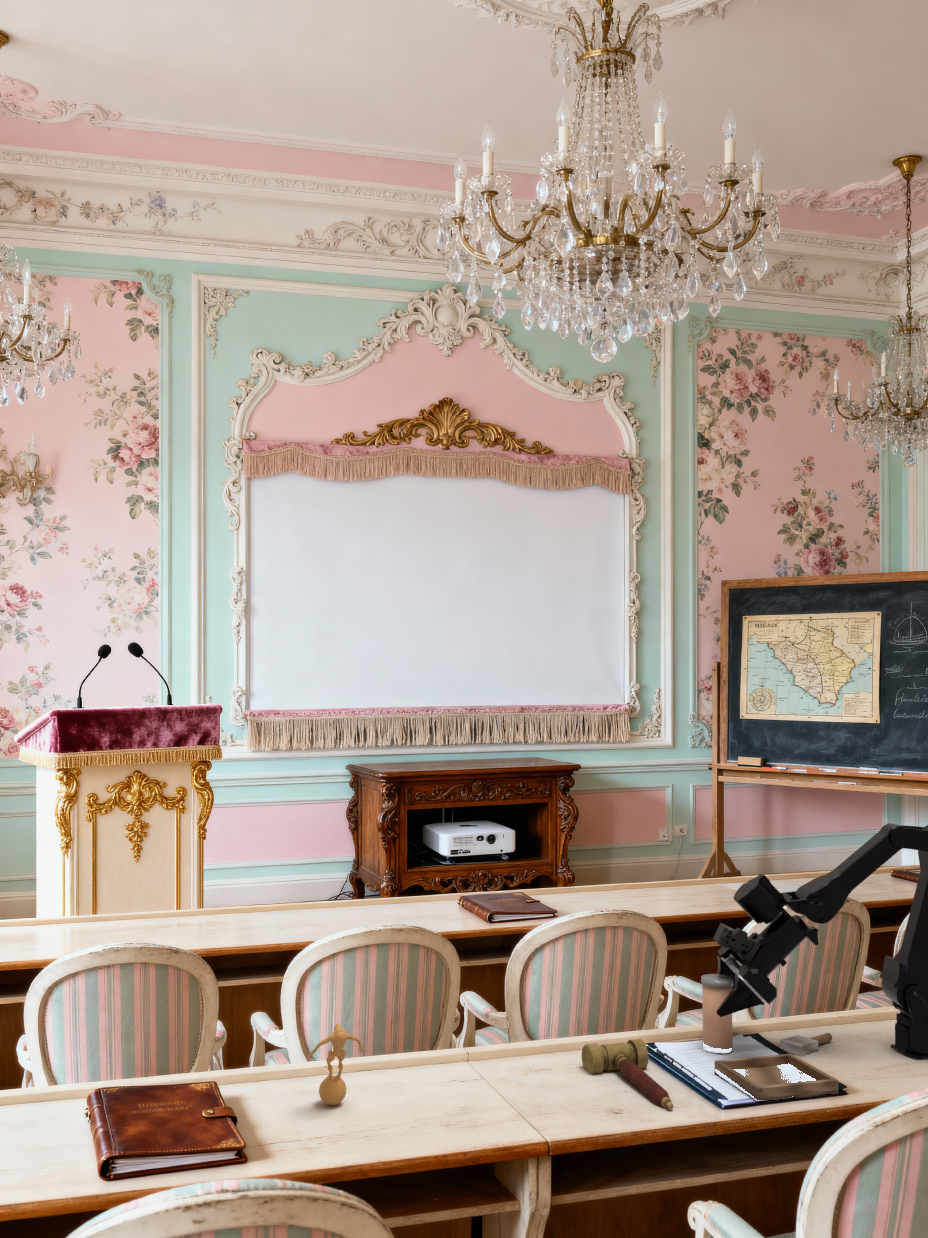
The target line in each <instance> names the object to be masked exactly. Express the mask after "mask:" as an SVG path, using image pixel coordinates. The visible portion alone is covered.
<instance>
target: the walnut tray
mask: <svg viewBox="0 0 928 1238" xmlns="http://www.w3.org/2000/svg"><path fill="white" fill-rule="evenodd" d="M788 1063H789V1064H791V1065H793V1066H794V1067H796V1068H797V1069H798V1070H800V1071H802V1072H803V1073H805V1074H807V1075H809V1076H811V1077H812V1078H815V1079H816V1081H806V1082H801V1081H799V1082H797V1083H791V1081H790V1083H789V1081H788V1080H789V1079H788V1080H787V1079H786V1080H785V1079H784V1080H783V1079H781V1076H782V1075H781V1074H782V1072H781V1071H780V1070H781V1069H779V1068H778V1067H777V1065H781V1064H788ZM715 1069H717V1070H719V1071H720V1072H721V1073H723V1074H724V1075H726V1076H727V1077H728V1078H730V1079H731V1080H732V1081H734V1082H735V1083H737V1084H738V1085H739V1086H740V1087H742V1088H743V1089H745V1091H747V1092H748V1093H750V1094H751V1095H752V1096H754V1098H756V1099H757V1100H764V1101H765V1100H774V1099H775V1100H776V1099H783V1098H784V1099H785V1098H789V1097H792V1096H793V1097H794V1098H795V1097H797V1098H795V1099H802V1098H803V1099H806V1098H811V1097H813V1096H814V1097H821V1096H822V1095H821V1094H832V1095H839V1080H838V1079H837V1078H835V1077H833V1076H831V1075H829V1074H828V1073H827V1072H824V1071H822V1070H821V1069H819V1068H817V1067H815V1066H813V1065H812V1064H810V1063H808V1062H806V1061H805V1060H802V1059H800V1058H799V1057H797V1056H795V1055H793V1053H785V1054H784V1053H783V1054H774V1055H773V1054H771V1055H761V1056H751V1057H742V1058H741V1057H740V1058H729V1059H720V1060H714V1070H715ZM733 1069H745V1070H746V1071H747V1070H748V1071H747V1072H746V1071H745V1072H746V1073H747V1074H749V1075H747V1074H746V1073H745V1074H746V1076H745V1077H744V1076H743V1075H741V1074H740V1073H738V1072H736V1071H735V1070H733ZM780 1072H781V1073H780ZM802 1072H801V1073H802ZM799 1073H800V1072H799ZM801 1073H800V1074H801ZM803 1073H802V1074H803ZM785 1076H786V1075H785ZM782 1078H783V1076H782ZM784 1078H785V1077H784ZM800 1078H801V1077H800ZM787 1081H788V1083H787ZM818 1095H819V1096H818ZM820 1095H821V1096H820ZM822 1097H823V1096H822Z"/></svg>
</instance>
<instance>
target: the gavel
mask: <svg viewBox="0 0 928 1238" xmlns="http://www.w3.org/2000/svg"><path fill="white" fill-rule="evenodd" d="M581 1062H582V1066H583V1069H584V1071H586V1073H588V1074H591V1075H595V1074H602V1073H603V1071H605V1072H610V1071H620V1072H621V1074H622V1076H624V1077H625V1078H626V1079H627V1080H628V1081H629V1082H630V1083H631V1084H633V1086H635V1087H636V1088H637V1089H638V1090H639V1091H640V1092H641V1093H642V1094H643V1095H644V1096H646V1098H648V1099H649V1100H650V1101H651V1102H652V1103H653V1104H654V1105H657V1106H659V1107H661V1108H662V1107H663V1109H668V1110H671V1111H672V1110H673V1109H674V1104H673V1101H672V1099H671V1098H670V1095H669V1093H668V1091H667V1090H666V1089H665V1088H663V1087H662V1085H660V1084H659V1083H658V1082H657V1081H656V1080H655V1079H653V1078H652V1077H651V1076H650V1075H649V1074H648V1073H646V1072H645V1071H644V1069H647V1067H648V1064H649V1051H648V1047H647V1045H646V1043H645V1042H644V1040H643V1039H641V1038H640V1039H639V1038H637V1039H629V1040H627V1042H617V1043H607V1044H601V1045H600V1044H598V1043H586V1044H584V1045H583V1046H582V1049H581Z"/></svg>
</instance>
